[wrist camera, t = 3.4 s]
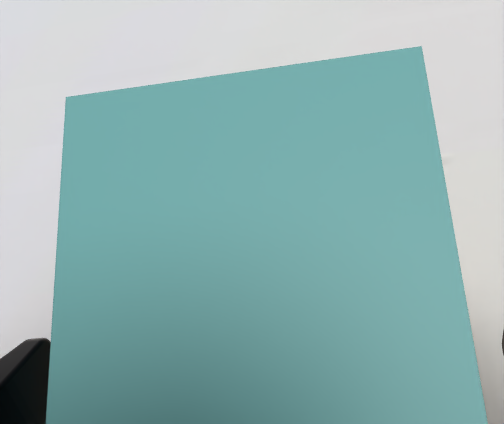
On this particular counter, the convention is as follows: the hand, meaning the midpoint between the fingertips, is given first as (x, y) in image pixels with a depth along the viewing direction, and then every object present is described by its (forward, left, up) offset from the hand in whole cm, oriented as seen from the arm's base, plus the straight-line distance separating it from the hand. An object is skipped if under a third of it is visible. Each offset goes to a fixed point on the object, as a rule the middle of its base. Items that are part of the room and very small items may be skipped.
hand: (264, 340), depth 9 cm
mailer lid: (-2, 0, -1) cm, 2 cm away
